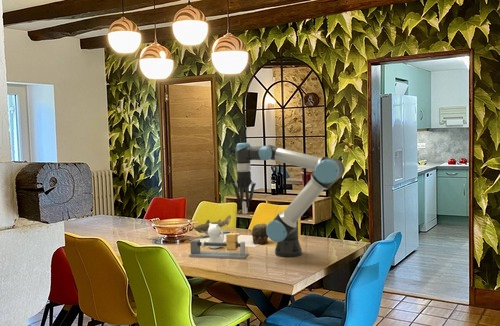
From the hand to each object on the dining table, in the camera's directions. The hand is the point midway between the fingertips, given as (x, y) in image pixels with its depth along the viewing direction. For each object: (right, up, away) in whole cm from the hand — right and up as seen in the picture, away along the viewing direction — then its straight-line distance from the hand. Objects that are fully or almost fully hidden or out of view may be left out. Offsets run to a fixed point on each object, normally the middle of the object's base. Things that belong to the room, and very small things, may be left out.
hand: (245, 213), depth 278 cm
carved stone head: (+9, -22, +35) cm, 43 cm away
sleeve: (-7, -20, +3) cm, 22 cm away
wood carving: (-22, -21, +65) cm, 72 cm away
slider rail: (-15, -25, +6) cm, 29 cm away
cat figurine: (-18, -24, +27) cm, 40 cm away
